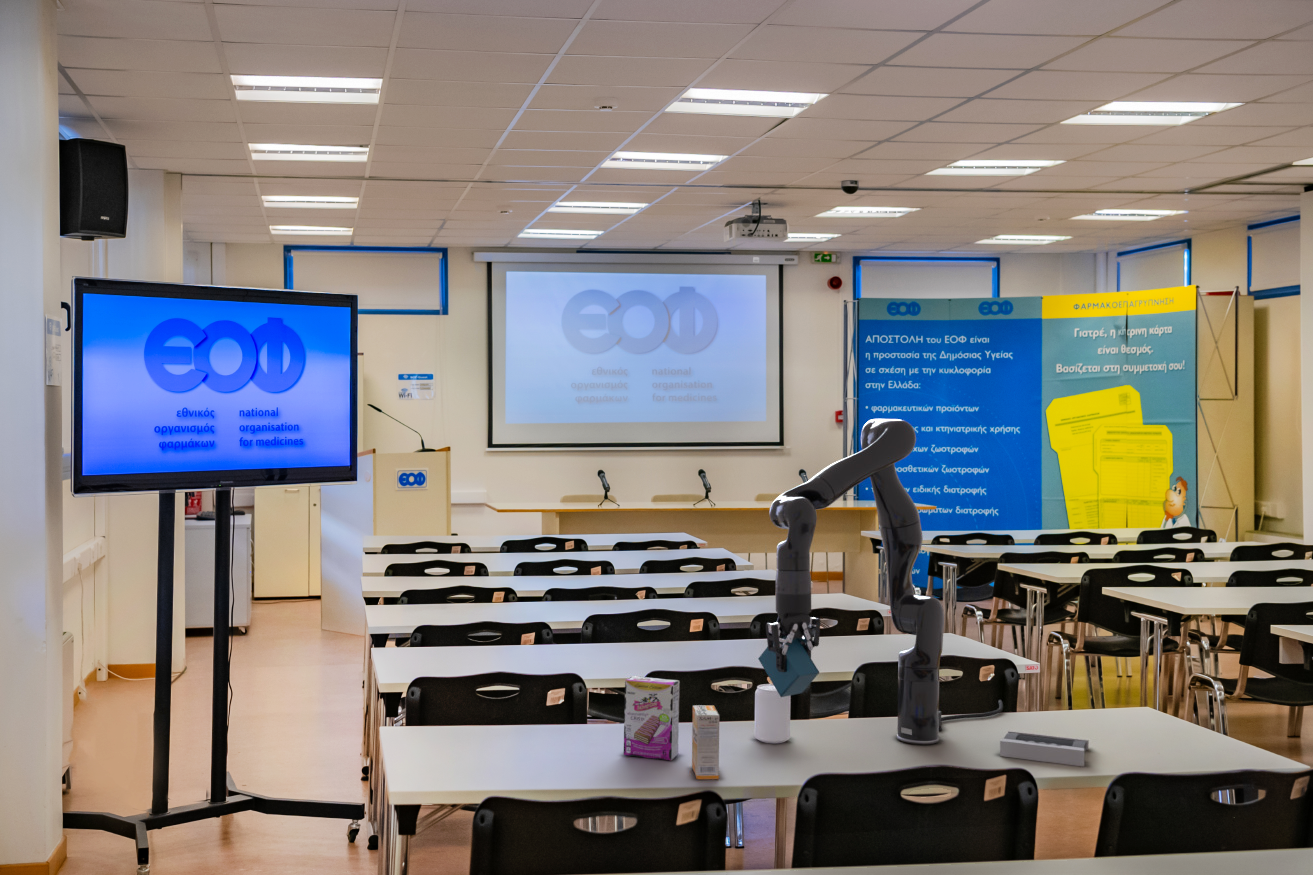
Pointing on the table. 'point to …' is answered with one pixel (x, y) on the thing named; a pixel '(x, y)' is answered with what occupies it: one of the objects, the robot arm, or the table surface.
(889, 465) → the robot arm
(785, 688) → the teal rectangular box
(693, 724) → the supplement box
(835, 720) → the table surface
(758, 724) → the beverage can
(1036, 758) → the grey slotted tray
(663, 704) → the candy bar box
